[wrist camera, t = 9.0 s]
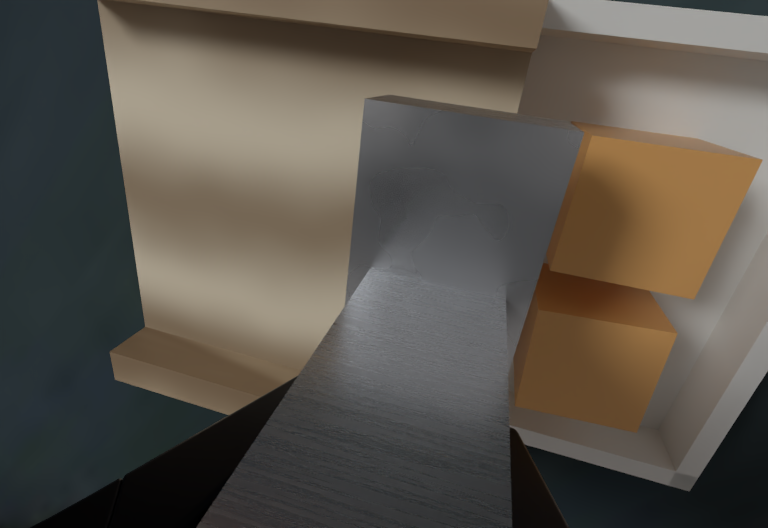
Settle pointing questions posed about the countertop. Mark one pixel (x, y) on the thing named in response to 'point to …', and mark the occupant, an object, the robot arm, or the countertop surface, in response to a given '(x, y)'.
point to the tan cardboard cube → (647, 208)
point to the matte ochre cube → (591, 350)
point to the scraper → (416, 330)
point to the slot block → (270, 163)
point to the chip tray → (739, 248)
